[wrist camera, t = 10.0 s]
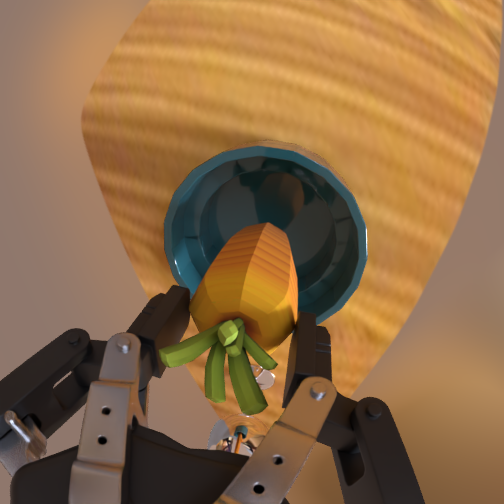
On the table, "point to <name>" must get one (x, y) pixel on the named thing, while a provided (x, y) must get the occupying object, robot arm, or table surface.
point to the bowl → (271, 219)
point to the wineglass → (241, 424)
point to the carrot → (242, 313)
